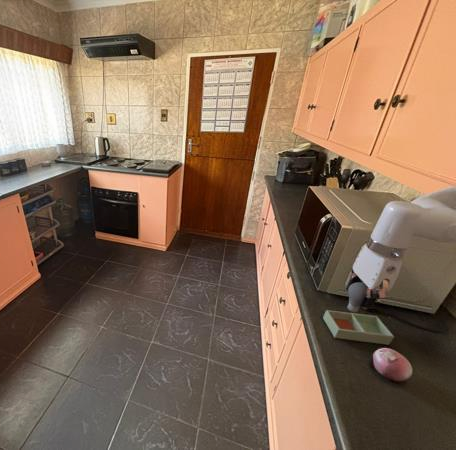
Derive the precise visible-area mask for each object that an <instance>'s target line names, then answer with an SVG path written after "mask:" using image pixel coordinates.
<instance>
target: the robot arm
mask: <svg viewBox="0 0 456 450" xmlns="http://www.w3.org/2000/svg"><path fill="white" fill-rule="evenodd" d="M414 237H420V238H424V239H428V240H431V241H435V242H438V243H439V242H440V243H456V185H453V186H449V187H445V188H442V189H439V190H435V191H433V192H430V193H427V194H424V195H421V196H419V197H417V198H415V199H413V200H412V201H403V200H394V201H393V200H392V201H389V202H388V203H387V204H386V205H385V206H384V208H383V210H382V212H381V214H380V216H379V218H378V220H377V221H376V224H375V227H374V228H373V230H372V233H371V234H370V237H369V239H368V240H367V242H366V243H365V245H363V247H362V249H361V250H360V252H359V254H357V257H356V259H355V260H353V261H351V262H350V267H351V269H350V270H351V274H350V276H349V278H350V280H349V281H348V284H347V286H346V288H345V289H346V291H348V288H349V286H350V285H351V284H353V283H357V282H362V283H365V284H366V285H367V286H368V288H367V295H364V296H363V298H362V300H361V301H360V303H359V306H360V307H359V308H367V309H372V308H373V306H374V305H375V303H376V301H377V300H382V299H390V298H391V294H390V291H391V290H392V288H393V287H394V285H395V283H396V281H397V280H398V277H399V275H400V272H401V269H402V265H403V258H404V257H405V252H406V251H407V249H408V247H409V246H410V245H411V243H412V241H413V239H414ZM372 291H375V292H374V293H372Z"/></svg>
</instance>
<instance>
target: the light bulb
mask: <svg viewBox="0 0 456 450" xmlns="http://www.w3.org/2000/svg"><path fill="white" fill-rule="evenodd" d="M367 288H368V286H367V285H366V284H365V283H364V282H357V283H353V284H351V285H350V286H349V288H348V290H347V293H348V297H349V298H348V304H347V306H346V308H347V309H348V310H349V311H350V312H351V313H357V312H358V311H359V309H360V308H361V307H360V306H359V303H360V301H361V300H362V298H363V296H364V295H367ZM372 293H375V290H373V291H372Z"/></svg>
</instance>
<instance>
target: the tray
mask: <svg viewBox="0 0 456 450" xmlns="http://www.w3.org/2000/svg"><path fill="white" fill-rule="evenodd" d="M322 319H323V321H324V322H325V324H326V326H327V328H328V329H329V331H330V332H331V334H332V336H333V338H334V339H342V340H348V341H357V342H365V343H371V344H380V345H388V346H389V345H390V344H391V342H392V341H393V340H394V338H395V336H394V334H393V333H392V332H391V331H390V329H388V327H387V325H385V324H384V323H383V322H382V320H381V319H380V317H378V315H371V314H363V313H356V312H346V311H338V310H331V309H330V310H328V309H326V310H325V312H324V313H323V317H322Z"/></svg>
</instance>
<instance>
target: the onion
mask: <svg viewBox="0 0 456 450" xmlns="http://www.w3.org/2000/svg"><path fill="white" fill-rule="evenodd" d="M372 361H373V362H372V363H373V368H374V369H375V371H377V372H378V373H379V374H380V375H381V376H382V377H384V378H385V379H388V380H391V381H395V382H404V381H407V380H409V379H410V378H411V377H412V375H413V367H412V364H411V362H410V361H409V360H408V359H407V358H406V357H405V356H404V355H403V354H402V353H399V352H398V351H396V350H395V349H392V348H388V347H382V348H381V347H380V348H378V349H377V350H375V351H374V352H373V353H372Z"/></svg>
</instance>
